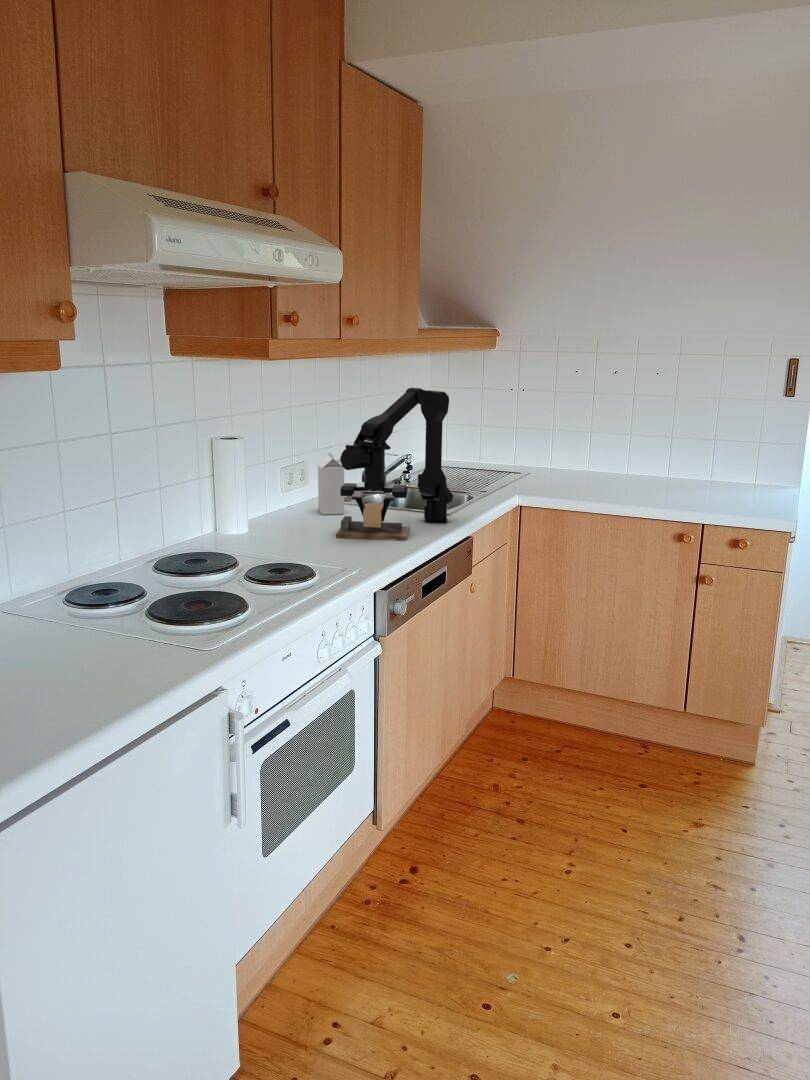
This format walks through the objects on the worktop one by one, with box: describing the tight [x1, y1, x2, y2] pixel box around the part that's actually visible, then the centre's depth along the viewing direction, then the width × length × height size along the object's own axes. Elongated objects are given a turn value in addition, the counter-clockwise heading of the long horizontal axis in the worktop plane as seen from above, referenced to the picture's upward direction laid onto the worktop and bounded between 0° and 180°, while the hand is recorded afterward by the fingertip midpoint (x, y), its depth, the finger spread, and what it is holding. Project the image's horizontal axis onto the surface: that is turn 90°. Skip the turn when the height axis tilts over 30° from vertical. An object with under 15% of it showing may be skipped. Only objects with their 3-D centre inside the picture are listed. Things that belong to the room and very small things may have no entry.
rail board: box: [335, 515, 411, 541], centre depth 241 cm, size 20×12×4 cm, turn 85°
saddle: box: [362, 502, 385, 528], centre depth 240 cm, size 5×9×5 cm, turn 175°
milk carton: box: [317, 451, 345, 516], centre depth 266 cm, size 7×7×19 cm
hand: (374, 520), depth 241 cm, fingers closed on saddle, 5 cm apart
